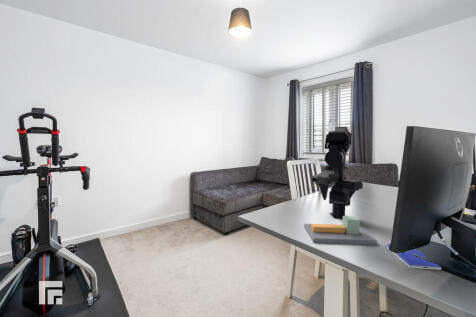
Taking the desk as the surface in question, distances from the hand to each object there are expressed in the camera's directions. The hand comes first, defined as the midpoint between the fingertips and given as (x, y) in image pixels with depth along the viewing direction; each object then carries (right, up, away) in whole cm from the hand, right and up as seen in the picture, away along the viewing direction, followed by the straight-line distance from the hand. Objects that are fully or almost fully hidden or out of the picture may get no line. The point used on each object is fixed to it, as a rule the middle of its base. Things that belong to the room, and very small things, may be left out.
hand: (334, 202), depth 85 cm
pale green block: (+5, -12, -2) cm, 14 cm away
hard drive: (+16, -14, -17) cm, 28 cm away
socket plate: (0, -12, -1) cm, 12 cm away
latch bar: (-3, -11, -1) cm, 11 cm away
